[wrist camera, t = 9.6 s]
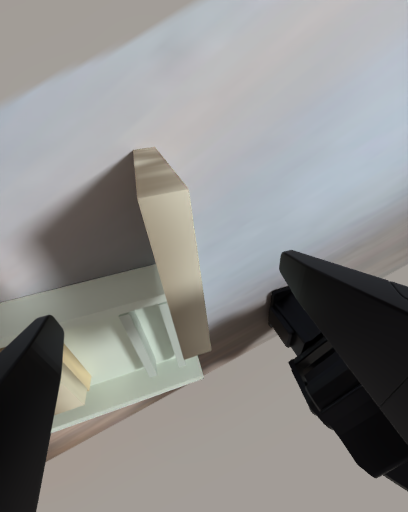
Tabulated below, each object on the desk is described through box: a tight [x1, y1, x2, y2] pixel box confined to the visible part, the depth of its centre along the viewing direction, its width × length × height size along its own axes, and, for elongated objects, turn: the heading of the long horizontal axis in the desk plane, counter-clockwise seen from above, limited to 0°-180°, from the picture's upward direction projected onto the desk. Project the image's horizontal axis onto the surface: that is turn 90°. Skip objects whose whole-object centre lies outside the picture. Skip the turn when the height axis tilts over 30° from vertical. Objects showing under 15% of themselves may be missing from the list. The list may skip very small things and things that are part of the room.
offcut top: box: [54, 362, 87, 415], centre depth 18 cm, size 5×7×2 cm
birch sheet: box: [133, 147, 212, 360], centre depth 12 cm, size 1×8×10 cm, turn 6°
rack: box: [0, 264, 204, 433], centre depth 20 cm, size 18×14×4 cm
